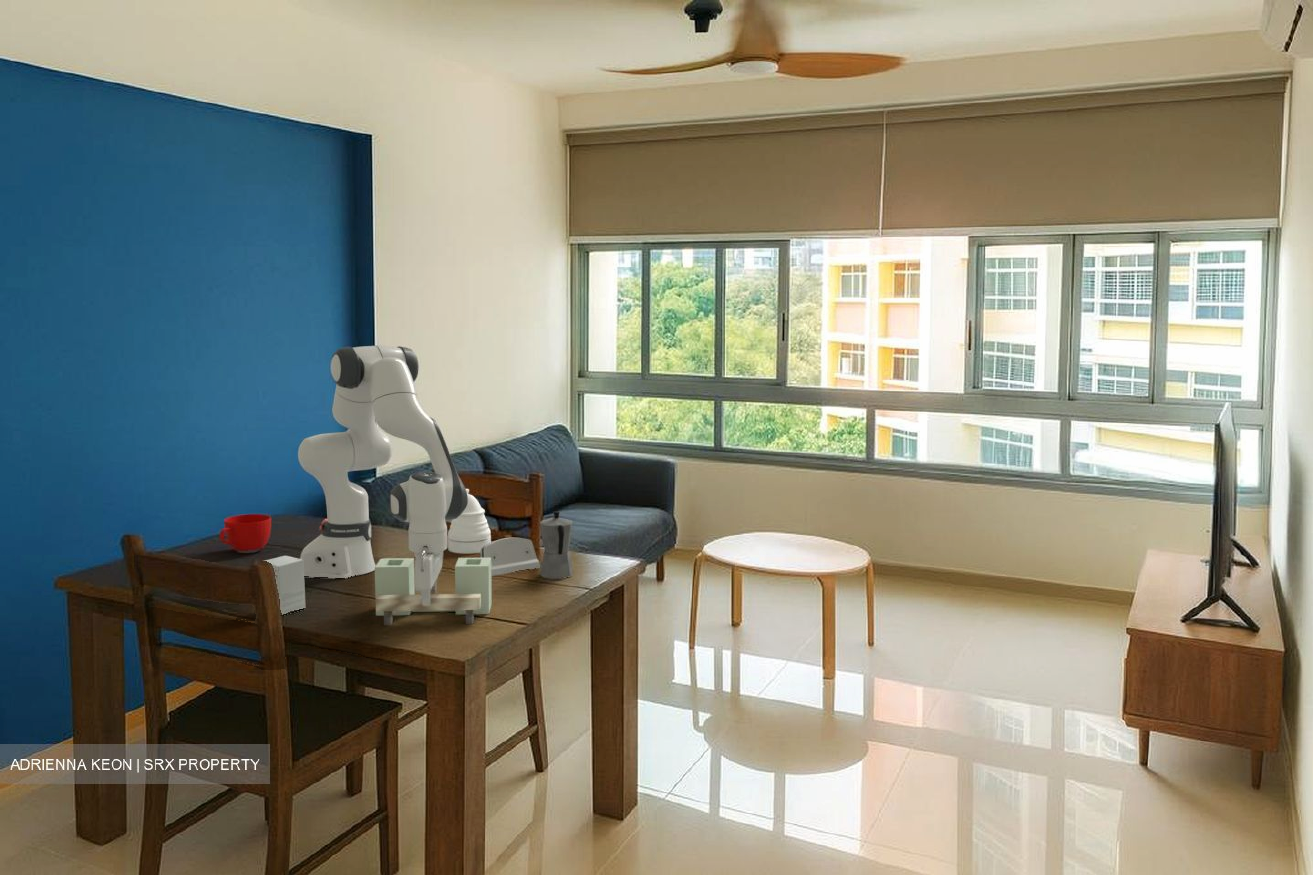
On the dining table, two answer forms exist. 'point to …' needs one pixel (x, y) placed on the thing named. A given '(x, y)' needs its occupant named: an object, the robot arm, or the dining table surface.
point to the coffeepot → (556, 547)
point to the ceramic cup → (247, 531)
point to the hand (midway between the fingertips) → (429, 599)
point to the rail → (437, 603)
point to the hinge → (510, 555)
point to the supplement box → (289, 582)
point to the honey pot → (469, 529)
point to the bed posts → (469, 579)
